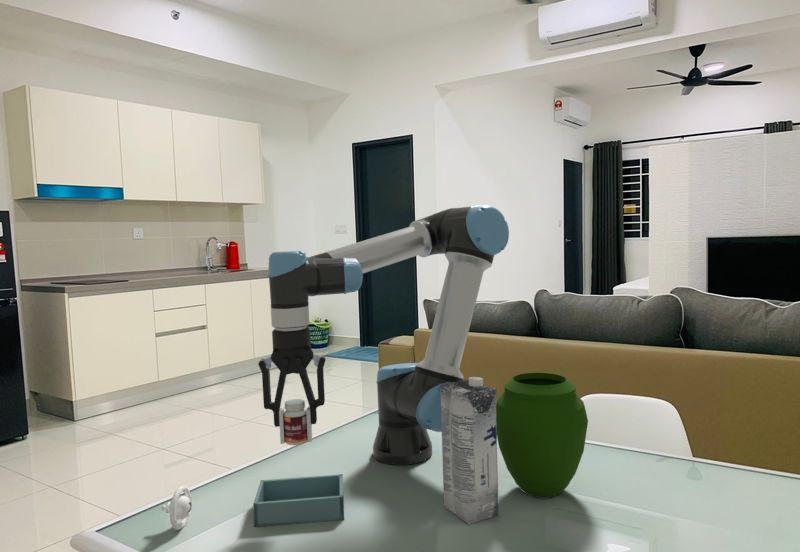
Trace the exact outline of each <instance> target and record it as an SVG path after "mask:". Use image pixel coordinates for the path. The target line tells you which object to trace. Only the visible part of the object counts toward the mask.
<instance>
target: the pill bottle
mask: <svg viewBox="0 0 800 552" xmlns="http://www.w3.org/2000/svg"><path fill="white" fill-rule="evenodd" d="M305 402H306V401H305V400H304V399H302V398H292V399H288V400H286V401H285V402H284V431H285V443H284V444H285V445H288V446H299V445H304V444H306V443H308V435H307V415H306V409H307V408H306V403H305ZM305 408H306V409H305Z"/></svg>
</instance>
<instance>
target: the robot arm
mask: <svg viewBox="0 0 800 552" xmlns="http://www.w3.org/2000/svg"><path fill="white" fill-rule="evenodd" d="M509 238H510V231H509V224H508V222H507V220H506V219H505V215H504V214H503V213H502V212H501V211H500V210H499V209H497V208H496V207H494V206H491V205H482V204H475V205H471V206H463V207H452V208H447V209H444V210H440V211H438V212H436V213H433V214H431V215H428V216H425V217H422V218H420V219H417V220H414V221H411V223H410V224H409V226H408V227H407V226H406V227H404V228H401V229H397V230H394V231H391V232H387V233H385V234H381V235H377V236H374V237H371V238H367V239H365V240H362V241H359V242H355V243H352V244H348V245H345V246H340V247H339V248H336V249H335V248H334V249H331V250H328V251H325V252H322V253H319V254H316V255H312V256H309V257H307V253H306V252H305V251H304V250H292V251H291V250H290V251H289V250H287V251H275V252H272V253H270V255H269V257H268V275H267V277H268V282H269V295H270V296H269V297H270V317H271V327H272V328H273V329H272V331H271V336H272V337H271V338H272V353H271V355H270V356H269V357H266V358H260V361H259V362H258V363H257V364H258V367H259V370H260V372H261V376H262V378H261V379H262V381H261V382H262V396H263V398H262V400H263V408H264V409H265V410H270V411H271V412H273V425H274V427H275V428H277V427H279V437H280V445H283V444H284V445H285V444H286V443H285V431H284V412H285V407H282V408H281V406H282V399H283V395H284V389H285V384H286V378H287V376H288V375H291V374H297V375H298V376H299V377H300V380H301V383H302V387H303V390H304V393H305V397H306V400H307V403H308V406H306V415H307V435H308V441H307V443H309V442H310V443H311V442H312V440H313V426H312V425H316V424H317V422H318V421H317V420H318V416H317V414H318V413H317V409H318V407H322V406H324V404H325V401H326V399H325V397H326V396H325V378H324V377H325V376H324V374H325V373H324V366H325V363H326V360H327V357H326V355H323V354H322V355H319V354H315V353H314V351H313V350H312V348H311V347H312V346H311V330H310V328H309V327H308V326H309V325H310V309H309V307H310V306H309V305H310V304H309V297H315V296H326V295H328V296H330V295H340V294H344V295H346V294H350V293H355V292H357V291H359V290H360V288H361V287H362V284H363V278H364V276H363V274H366V273H369V272H372V271H374V270H378V269H380V268H383V267H387V266H390V265H393V264H397V263H399V262H402V261H404V260H409V259H410V258H414V257H417V256H418V257H421V258H427V257H430V256H433V255H443V254H444V256H445V258H446V259H447V262H448V265H447V269H446V274H445V278H444V280H443V281H444V282H443V284H442V289H441V292H440V296H439V300H438V303H437V304H438V305H437V308H436V312H435V316H434V320H433V323H432V327H431V330H430V335H429V339H428V342H427V347H426V351H425V355H424V359H422V360H421V361H419V362H405V363H397V364H396V363H395V364H389V365H385V366H382V367H380V368H379V369H378V370H377V374H376V386H377V387H376V388H377V407H378V408H377V411H378V427H377V431H376V435H375V437H374V442H373V446H372V455H373V456H372V457H373V458H374V459H375V460H376V461H378V462H381V463H383V464H388V465H394V466H396V465H397V466H398V465H399V466H404V465H413V463H414V464H418V462H419V463H421V461H422V462H424V461H426V460H425V459H427V458H428V459H430V458H431V457H432V456H433V443H432V441H431V437H430V435H429V432H428V430H430V431H433V432H437V433H442V424H441V394H440V385H442V384H448V383H453V382H458V381H464V374H463V373H462V372H461V370H460V367H461V364H462V359H463V355H464V351H465V348H466V347H465V346H466V343H467V339H468V336H469V335H468V334H469V332H470V327H471V323H472V319H473V314H474V312H475V308H476V302H477V300H478V295H479V292H480V287H481V283H482V279H483V276H484V275H483V274H484V272H485V271H486V270H488V269H489V268H491V267H492V266H493V262H494V258H495V256H496V255H498V254H500V253H501V252H502V251H504V250H505V249H506V247H507V244H508V243H509ZM312 360H313V363H314V366H315V367H317V368H316V380H317V382H316V383H317V399H316V397H315V395H314V391H313V388H312V384H311V381H310V378H309V375H308V370H307V369H308V366H309V365H310V363H311V361H312ZM272 363H273V364H274V365H275V366H276V368H277V369H278V370H279V376H278V381H277V382H278V383H277V386H276V387H277V388H276V392H275V397H274V401H272V393H271V390H272V389H271V371H270V369H271V367H272ZM430 456H431V457H430ZM429 457H430V458H429ZM428 459H427V460H428ZM423 460H424V461H423Z"/></svg>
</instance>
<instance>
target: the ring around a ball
mask: <svg viewBox="0 0 800 552" xmlns="http://www.w3.org/2000/svg"><path fill="white" fill-rule="evenodd" d="M182 492H183V493H184V495H181V494H182ZM192 507H193V502H192V496H191V491H190V489H189V487H187V486H186V485H181V486H179V487H178V488H177V489H176V490H175V491H174V493H173V495H172V498H171V501H169V502H167V503H166V504H163V505H162V506H161V510H162V511H165V512H166V513H167V514H169V521H170V524H171V527H172V528H173V529H174V530H177V531H180V530H181V529H183V528H184V527H185V526H186V524H187V522H188V520H189V518H190V515H191V512H192V509H193V508H192ZM177 520H180V522H179V523H178V521H177Z"/></svg>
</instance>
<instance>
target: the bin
mask: <svg viewBox="0 0 800 552" xmlns="http://www.w3.org/2000/svg"><path fill="white" fill-rule="evenodd" d="M343 477H344V474H343V473H341V474H339V473H338V474H327V475H326V474H325V475H313V476H300V477H289V478H274V479H264V480H260V482H259V485H258V488H257V491H256V494H255V498H254V501H253V503H252V504H253V505H252V507H253V525H254V528H260V527H262V528H263V527H270V526H271V527H273V526H285V525H286V526H287V525H296V524H298V525H299V524H306V523H307V524H308V523H318V522H319V523H320V522H330V521H331V522H332V521H344V520H345V503H344V502H345V501H344V500H345V499H344V498H345V497H344V496H345V495H344V493H345V492H344V478H343Z"/></svg>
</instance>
